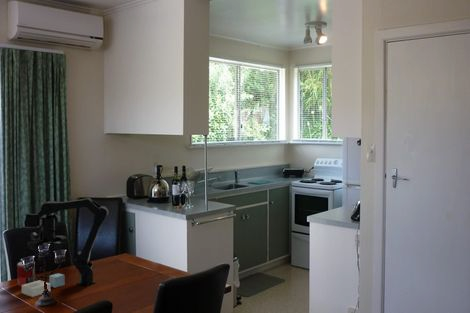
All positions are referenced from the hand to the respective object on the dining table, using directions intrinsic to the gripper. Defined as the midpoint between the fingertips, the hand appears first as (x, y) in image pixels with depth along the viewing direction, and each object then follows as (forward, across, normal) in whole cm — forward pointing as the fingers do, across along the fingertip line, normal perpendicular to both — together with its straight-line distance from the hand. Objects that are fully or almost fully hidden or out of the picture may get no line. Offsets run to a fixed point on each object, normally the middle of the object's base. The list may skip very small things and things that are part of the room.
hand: (47, 259), depth 224 cm
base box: (+13, +9, +3) cm, 16 cm away
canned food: (+13, +4, -10) cm, 17 cm away
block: (+13, -2, +4) cm, 14 cm away
